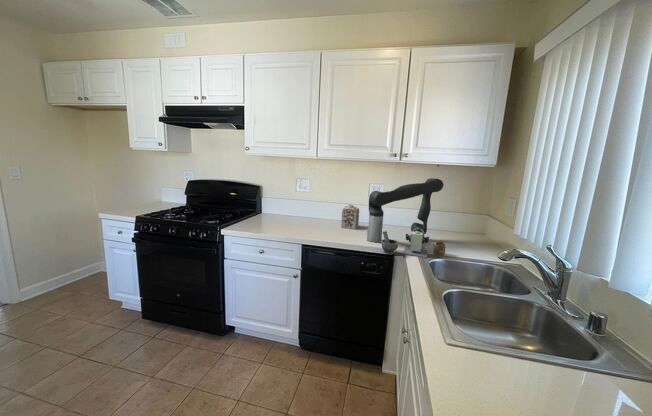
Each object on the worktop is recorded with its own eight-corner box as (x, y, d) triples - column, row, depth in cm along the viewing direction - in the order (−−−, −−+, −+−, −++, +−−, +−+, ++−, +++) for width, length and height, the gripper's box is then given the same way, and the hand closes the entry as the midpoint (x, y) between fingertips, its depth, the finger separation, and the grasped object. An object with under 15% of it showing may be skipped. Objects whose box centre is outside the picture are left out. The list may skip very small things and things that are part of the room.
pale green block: (410, 250, 159) (411, 232, 157) (410, 247, 165) (412, 229, 163) (420, 251, 157) (422, 233, 155) (421, 248, 163) (423, 231, 161)
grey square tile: (403, 254, 158) (403, 253, 158) (405, 247, 170) (405, 246, 169) (426, 258, 153) (426, 257, 153) (427, 251, 165) (427, 250, 165)
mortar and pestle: (400, 254, 157) (402, 234, 155) (388, 256, 153) (389, 236, 151) (388, 248, 167) (389, 229, 165) (375, 250, 163) (377, 231, 161)
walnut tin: (433, 254, 159) (434, 241, 157) (433, 251, 164) (434, 238, 163) (444, 256, 157) (446, 243, 155) (444, 253, 162) (445, 240, 161)
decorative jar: (340, 227, 213) (341, 205, 209) (344, 224, 224) (345, 203, 220) (355, 229, 209) (357, 206, 206) (358, 226, 220) (360, 204, 217)
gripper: (406, 227, 175) (404, 233, 160) (430, 230, 170) (430, 237, 155) (405, 238, 176) (403, 246, 161) (429, 241, 171) (428, 249, 156)
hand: (416, 241), depth 158 cm, fingers closed on pale green block, 6 cm apart
